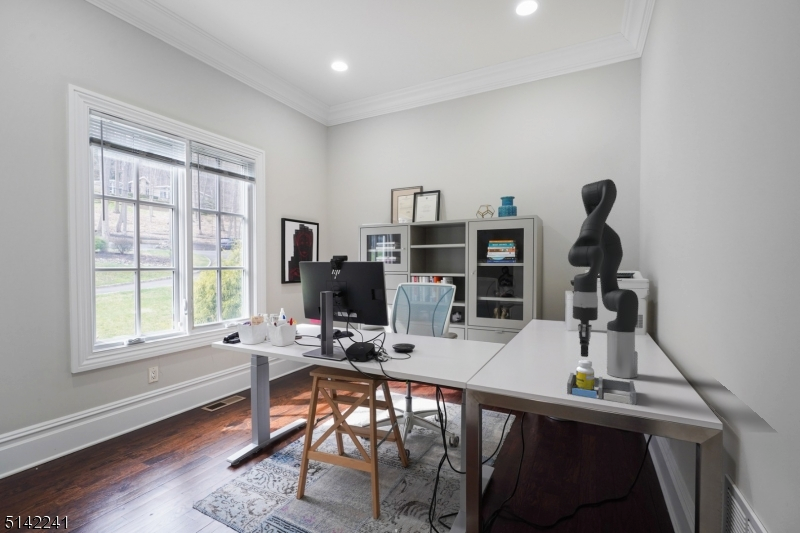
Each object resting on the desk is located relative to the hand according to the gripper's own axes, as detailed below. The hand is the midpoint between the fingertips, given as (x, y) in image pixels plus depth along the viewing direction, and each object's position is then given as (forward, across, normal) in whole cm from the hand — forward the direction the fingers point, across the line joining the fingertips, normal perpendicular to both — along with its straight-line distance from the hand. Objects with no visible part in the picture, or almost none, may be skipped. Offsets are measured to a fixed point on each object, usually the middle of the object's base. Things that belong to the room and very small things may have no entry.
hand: (584, 356), depth 122 cm
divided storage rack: (+11, 0, +5) cm, 12 cm away
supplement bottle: (+12, 0, 0) cm, 12 cm away
